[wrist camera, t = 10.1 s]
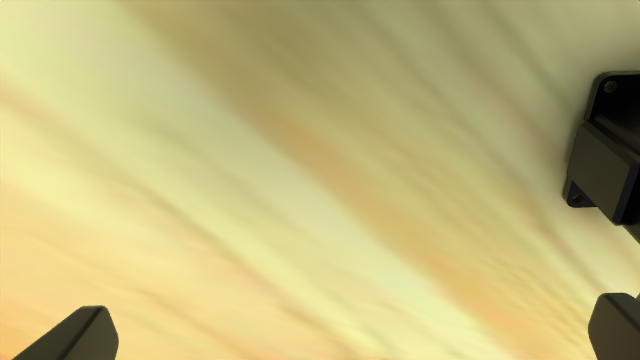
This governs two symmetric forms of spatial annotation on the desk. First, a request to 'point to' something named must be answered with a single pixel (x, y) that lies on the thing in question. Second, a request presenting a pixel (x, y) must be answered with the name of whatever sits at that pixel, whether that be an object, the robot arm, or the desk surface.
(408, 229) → the desk surface
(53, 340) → the robot arm
